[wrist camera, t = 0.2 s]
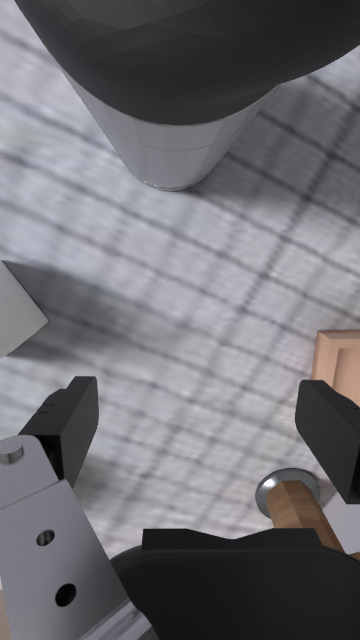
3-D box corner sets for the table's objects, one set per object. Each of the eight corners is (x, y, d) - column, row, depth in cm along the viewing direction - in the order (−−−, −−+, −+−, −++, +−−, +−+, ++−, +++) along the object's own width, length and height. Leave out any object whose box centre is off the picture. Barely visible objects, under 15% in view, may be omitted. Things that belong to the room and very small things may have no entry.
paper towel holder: (257, 469, 35) (314, 622, 22) (321, 466, 36) (417, 616, 22) (253, 517, 38) (302, 682, 24) (313, 514, 38) (394, 676, 25)
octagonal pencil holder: (268, 481, 35) (306, 575, 26) (323, 479, 36) (380, 571, 26) (265, 514, 37) (299, 613, 27) (317, 511, 37) (368, 609, 28)
